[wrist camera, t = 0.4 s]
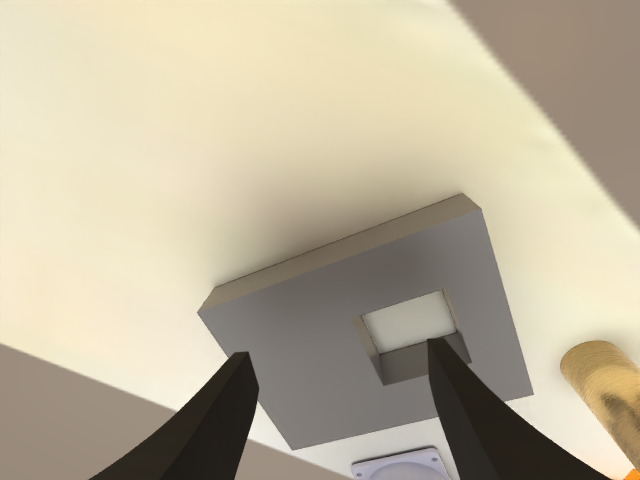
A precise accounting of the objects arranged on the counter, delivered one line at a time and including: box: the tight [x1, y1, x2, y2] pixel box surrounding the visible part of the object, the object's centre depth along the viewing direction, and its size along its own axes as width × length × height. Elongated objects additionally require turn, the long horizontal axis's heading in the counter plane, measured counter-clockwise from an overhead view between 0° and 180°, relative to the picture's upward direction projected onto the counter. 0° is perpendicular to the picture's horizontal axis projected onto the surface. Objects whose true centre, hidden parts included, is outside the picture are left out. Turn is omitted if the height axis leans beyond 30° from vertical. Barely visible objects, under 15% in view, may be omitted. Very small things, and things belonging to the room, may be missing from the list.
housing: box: [197, 193, 534, 451], centre depth 23 cm, size 14×18×3 cm
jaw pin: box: [560, 341, 640, 473], centre depth 20 cm, size 4×4×8 cm
